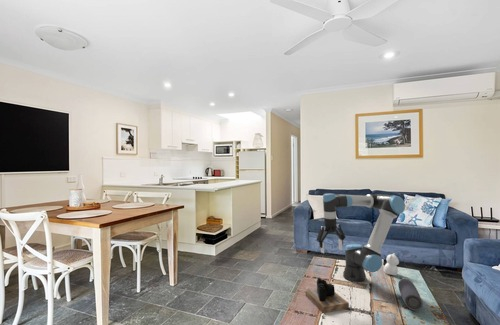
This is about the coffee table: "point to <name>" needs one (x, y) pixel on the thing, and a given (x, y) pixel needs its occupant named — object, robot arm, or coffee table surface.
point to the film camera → (324, 289)
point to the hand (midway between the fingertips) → (331, 251)
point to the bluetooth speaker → (410, 294)
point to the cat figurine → (391, 265)
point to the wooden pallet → (327, 301)
